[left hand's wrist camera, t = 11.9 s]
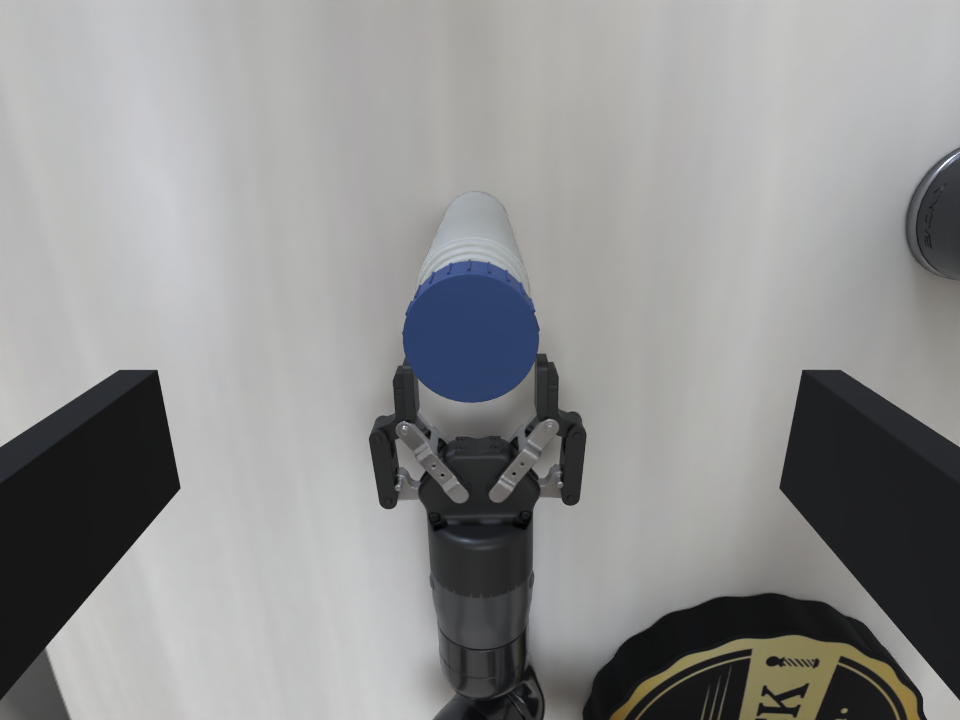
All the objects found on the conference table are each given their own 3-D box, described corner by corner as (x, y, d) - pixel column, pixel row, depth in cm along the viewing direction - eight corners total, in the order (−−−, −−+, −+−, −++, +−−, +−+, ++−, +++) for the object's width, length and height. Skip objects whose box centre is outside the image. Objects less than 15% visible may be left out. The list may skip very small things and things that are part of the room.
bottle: (441, 192, 41) (393, 267, 18) (508, 190, 41) (543, 262, 18) (444, 258, 43) (403, 404, 20) (508, 256, 43) (542, 401, 20)
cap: (403, 260, 20) (395, 273, 18) (535, 256, 20) (541, 269, 18) (412, 382, 21) (405, 405, 19) (535, 378, 21) (540, 402, 19)
